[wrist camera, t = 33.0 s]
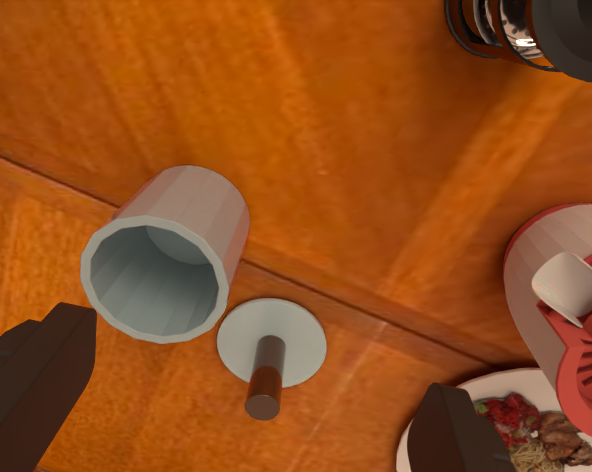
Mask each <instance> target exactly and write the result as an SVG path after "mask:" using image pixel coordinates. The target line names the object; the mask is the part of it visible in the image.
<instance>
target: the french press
mask: <svg viewBox="0 0 592 472" xmlns="http://www.w3.org/2000/svg"><path fill="white" fill-rule="evenodd" d="M473 10H474V16H475V22H476V24H477V27H478V30H479V32H480V34H481V35H482V37H483V39H484V40H483V39H481V38H480V37H478V36H476V35H475V34H474V33H473V32H472V31H471V30H470V28H469V27H468V25H467V24H466V21H465V18H464V16H463V10H462V0H444V12H445V18H446V23H447V25H448V28H449V30H450V33H451V34H452V36H453V37H454V39H455V40H456V42H457V43H458V44H459V45H460V46H461V47H463V48H464V49H465V50H467V51H468V52H470V53H472V54H474V55H477V56H480V57H483V58H493V59H497V58H500V59H504V60H508V61H512V62H516V63H520V64H523V65H527V66H530V67H534V68H537V69H541V70H544V71H552V72H563V73H565V74H566V75H568V76H570V77H573V78H576V79H579V80H583V81H586V82H592V0H474V3H473ZM543 55H544V56H545V58H546V59H547V60H548V61H549V62H550V63H551V64H552V65H553V66H554V67H549V66H540V65H536V64H534V63H532V62H531V61H529V60H527V59H530V58H537V57H540V56H543Z"/></svg>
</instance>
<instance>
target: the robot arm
mask: <svg viewBox="0 0 592 472" xmlns="http://www.w3.org/2000/svg"><path fill="white" fill-rule="evenodd" d="M96 322H97V314H96V310H95V309H92V308H87V307H82V306H78V305H73V304H68V303H63V302H61V303H58V304H57V305H56V306H55V307H54V308H53V309H52V310H51V311H50V313H49V314H48V315H47V316H46V317H45V318H44V319H43V320H42V321H41V322H40V321H35V320H30V319H29V320H27V321H25V322H23V323H21V324H19V325H18V326H16V327H14V328H12V329H10V330H8V331H6V332H5V333H4V334H3V335H2V336H1V337H0V472H33V470H34V469H35V467H36V466H37V464H38V462H39V461H40V459H41V458H42V456H43V454H44V453H45V451H46V450H47V448H48V446H49V445H50V443H51V442H52V440H53V438H54V437H55V435H56V434H57V432H58V430H59V429H60V427H61V426H62V424H63V423H64V421H65V419H66V418H67V416H68V415H69V413H70V411H71V410H72V408H73V407H74V405H75V403H76V402H77V400H78V399H79V397H80V395H81V394H82V392H83V391H84V389H85V387H86V386H87V384H88V382H89V379H90V377H91V374H92V371H93V368H94V363H95V348H96ZM407 453H408V459H409V464H410V469H411V472H517V471H516V469H515V467H514V464H513V463H512V462H511V457H510V455H509V452H508V450H507V448H506V445H505V443H504V441H503V438H502V436H501V435H500V434H499V433H498V431H497V430H496V429H495V428H494V426H493V425H492V424H491V423H490V421H489V420H488V419H487V418H486V416H482V415H477V413H476V410H475V408H474V405H473V403H472V400H471V397H470V395H469V393H468V391H467V390H465V389H463V388H458V387H453V386H448V385H444V384H439V383H432V384H431V385H430V386H429V388H428V390H427V392H426V394H425V396H424V398H423V400H422V402H421V404H420V407H419V409H418V411H417V413H416V415H415V417H414V419H413V421H412V423H411V425H410V428H409V432H408V437H407Z"/></svg>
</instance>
